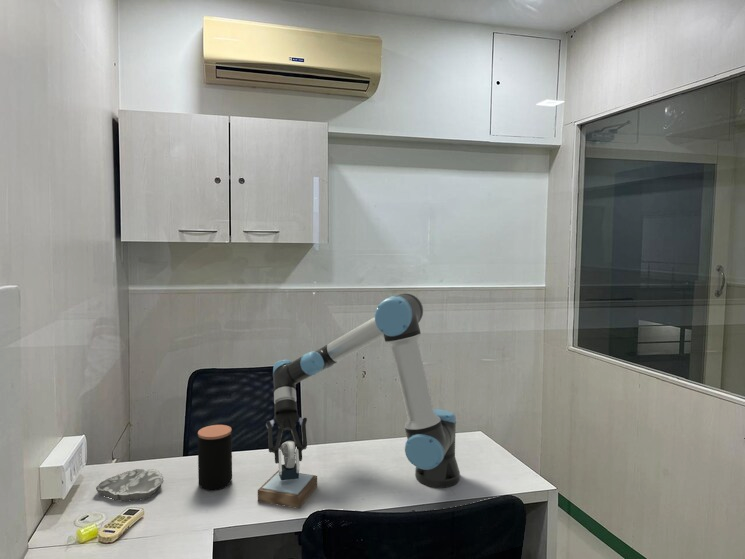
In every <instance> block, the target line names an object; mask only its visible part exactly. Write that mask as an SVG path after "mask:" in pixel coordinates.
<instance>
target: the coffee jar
mask: <svg viewBox="0 0 745 559" xmlns="http://www.w3.org/2000/svg"><path fill="white" fill-rule="evenodd" d="M232 431H233V430H232V427H231V426H229V425H226V424H213V425H208V426H205V427H204V426H203V427H202V428H200V429H199V430H198V431H197V437H198V438H197V457H198V458H197V464H198V465H197V466H198V467H197V469H198V470H197V472H198V474H197V475H198V485H199V487H200V488H201V489H202V490H204V491H218V490H222V489H225V488H226V487H228V486H229V485H230V483H231V482H232V479H233V447H232V446H233V437H232Z"/></svg>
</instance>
